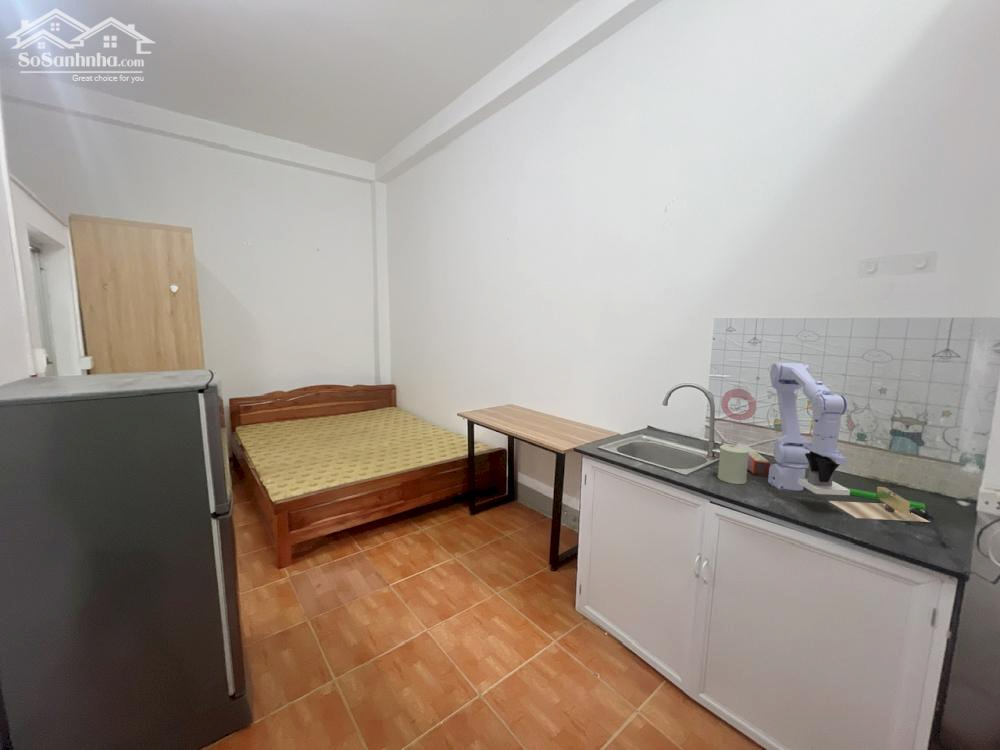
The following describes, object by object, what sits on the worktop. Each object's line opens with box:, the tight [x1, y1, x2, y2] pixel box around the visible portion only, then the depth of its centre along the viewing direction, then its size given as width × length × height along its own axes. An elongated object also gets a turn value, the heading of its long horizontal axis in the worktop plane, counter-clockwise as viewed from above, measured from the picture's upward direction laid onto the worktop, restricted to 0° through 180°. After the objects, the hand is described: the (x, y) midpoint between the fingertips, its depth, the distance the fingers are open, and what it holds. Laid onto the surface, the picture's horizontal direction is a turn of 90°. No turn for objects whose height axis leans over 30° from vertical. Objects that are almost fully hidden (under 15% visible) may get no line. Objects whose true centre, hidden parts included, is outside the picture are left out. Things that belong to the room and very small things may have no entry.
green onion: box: [844, 486, 926, 510], centre depth 125 cm, size 5×3×30 cm
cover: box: [798, 470, 851, 496], centre depth 116 cm, size 9×8×5 cm
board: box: [828, 500, 931, 523], centre depth 115 cm, size 19×11×3 cm, turn 84°
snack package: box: [734, 442, 772, 477], centre depth 155 cm, size 21×7×7 cm, turn 168°
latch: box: [876, 486, 910, 514], centre depth 114 cm, size 11×2×4 cm, turn 162°
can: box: [717, 444, 749, 485], centre depth 141 cm, size 9×9×12 cm
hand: (820, 479), depth 116 cm, fingers closed on cover, 2 cm apart
